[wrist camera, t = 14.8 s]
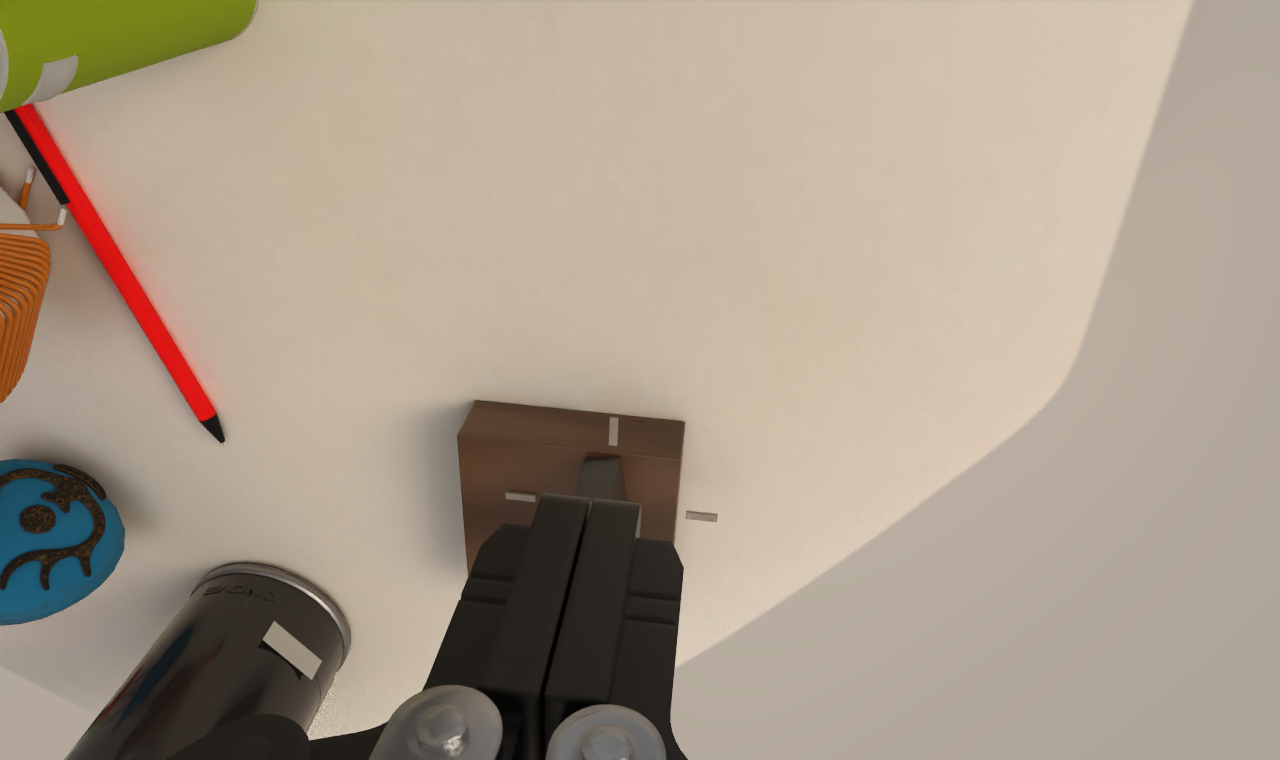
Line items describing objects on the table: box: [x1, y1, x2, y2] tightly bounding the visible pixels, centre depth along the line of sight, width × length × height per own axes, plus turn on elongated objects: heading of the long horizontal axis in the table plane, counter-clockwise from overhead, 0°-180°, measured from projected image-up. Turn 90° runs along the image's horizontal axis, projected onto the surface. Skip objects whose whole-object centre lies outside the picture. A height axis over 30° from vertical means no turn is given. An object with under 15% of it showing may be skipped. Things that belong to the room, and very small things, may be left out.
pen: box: [4, 103, 225, 445], centre depth 38 cm, size 1×19×1 cm, turn 15°
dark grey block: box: [575, 457, 627, 502], centre depth 37 cm, size 6×2×4 cm, turn 7°
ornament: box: [0, 459, 125, 626], centre depth 41 cm, size 8×5×10 cm, turn 47°
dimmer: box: [457, 400, 717, 578], centre depth 40 cm, size 12×12×3 cm
